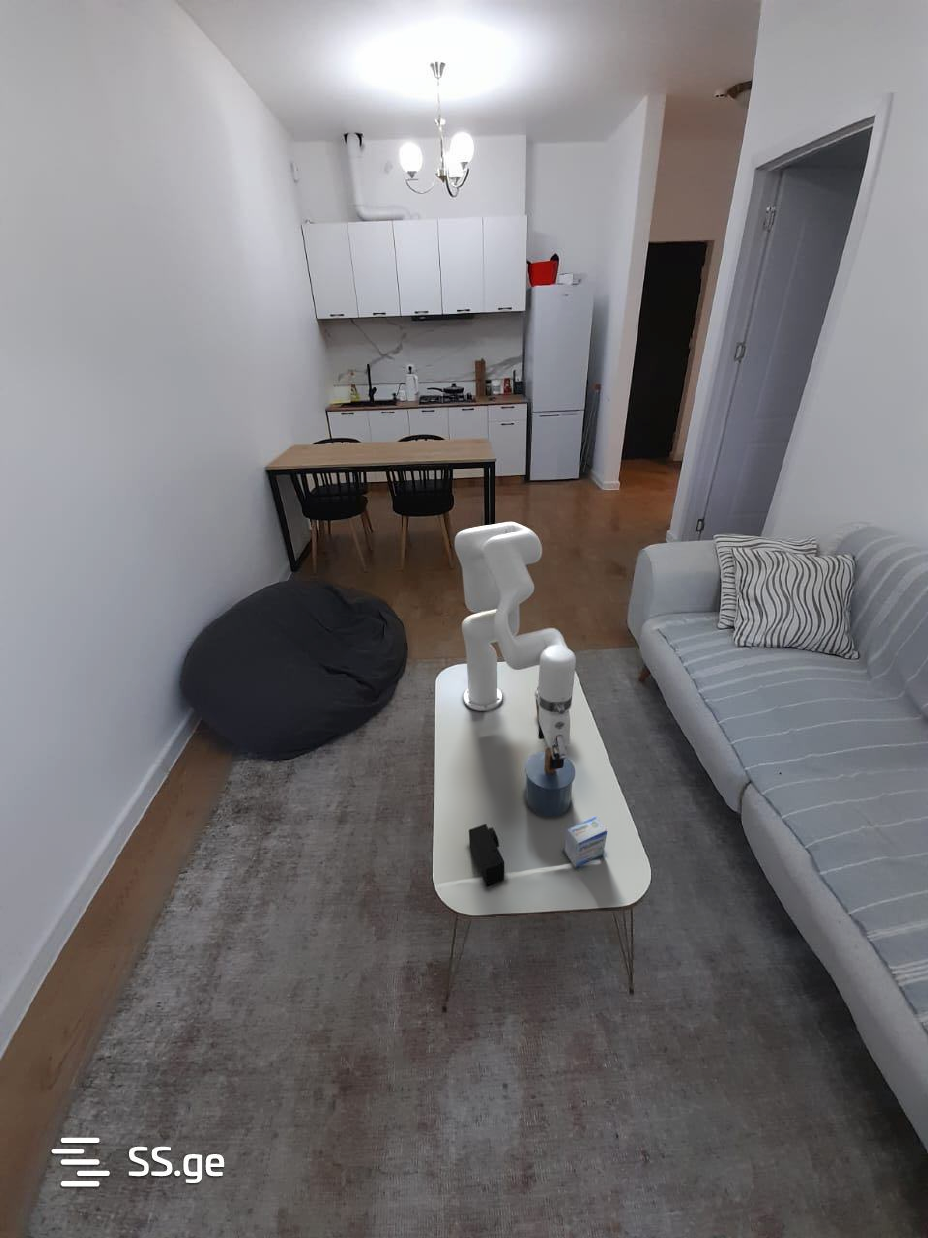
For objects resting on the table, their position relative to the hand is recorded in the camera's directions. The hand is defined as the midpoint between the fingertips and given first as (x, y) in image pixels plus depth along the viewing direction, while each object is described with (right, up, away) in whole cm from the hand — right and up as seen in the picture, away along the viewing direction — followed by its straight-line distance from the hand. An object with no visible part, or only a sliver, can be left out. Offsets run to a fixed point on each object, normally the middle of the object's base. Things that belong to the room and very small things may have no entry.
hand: (550, 752), depth 119 cm
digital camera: (-15, -24, -6) cm, 29 cm away
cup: (+1, -14, +8) cm, 17 cm away
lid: (0, -5, +3) cm, 6 cm away
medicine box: (+7, -22, -5) cm, 24 cm away
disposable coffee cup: (+5, +1, +33) cm, 33 cm away
